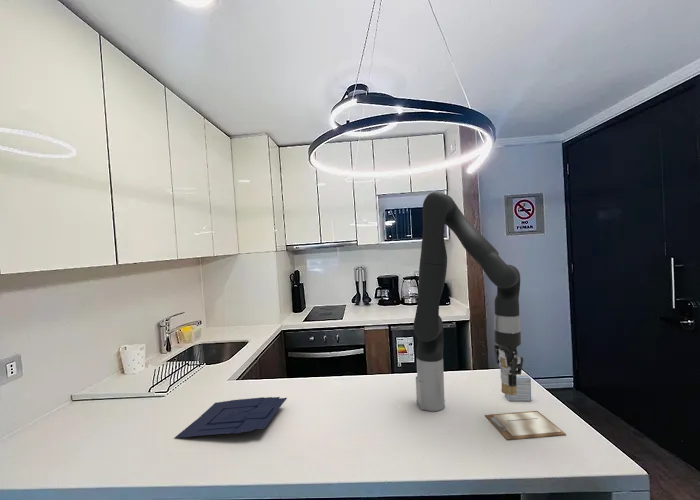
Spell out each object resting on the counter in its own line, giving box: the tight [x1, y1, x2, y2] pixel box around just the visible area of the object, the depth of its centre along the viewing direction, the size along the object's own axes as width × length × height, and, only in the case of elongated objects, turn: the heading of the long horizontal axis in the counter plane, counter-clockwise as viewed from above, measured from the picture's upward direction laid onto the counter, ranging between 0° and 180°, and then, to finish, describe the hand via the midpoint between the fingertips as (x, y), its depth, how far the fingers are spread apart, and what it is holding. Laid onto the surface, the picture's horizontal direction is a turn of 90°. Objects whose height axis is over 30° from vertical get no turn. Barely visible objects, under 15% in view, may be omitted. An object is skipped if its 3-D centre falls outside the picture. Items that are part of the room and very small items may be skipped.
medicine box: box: [504, 372, 532, 402], centre depth 125 cm, size 8×4×9 cm, turn 84°
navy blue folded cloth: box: [174, 396, 288, 439], centre depth 118 cm, size 24×30×4 cm
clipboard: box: [484, 410, 567, 441], centre depth 108 cm, size 18×14×2 cm
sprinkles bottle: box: [500, 350, 517, 395], centre depth 109 cm, size 5×5×13 cm
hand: (508, 382), depth 109 cm, fingers closed on sprinkles bottle, 4 cm apart
